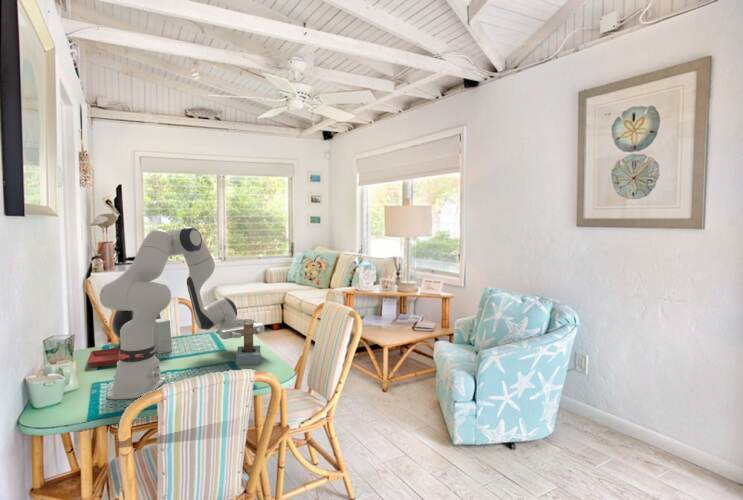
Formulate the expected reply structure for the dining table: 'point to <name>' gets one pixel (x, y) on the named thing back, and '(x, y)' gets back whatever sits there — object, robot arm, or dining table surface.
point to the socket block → (248, 356)
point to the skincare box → (162, 335)
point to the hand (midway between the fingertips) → (249, 334)
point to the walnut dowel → (248, 337)
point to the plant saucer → (103, 357)
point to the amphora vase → (122, 321)
